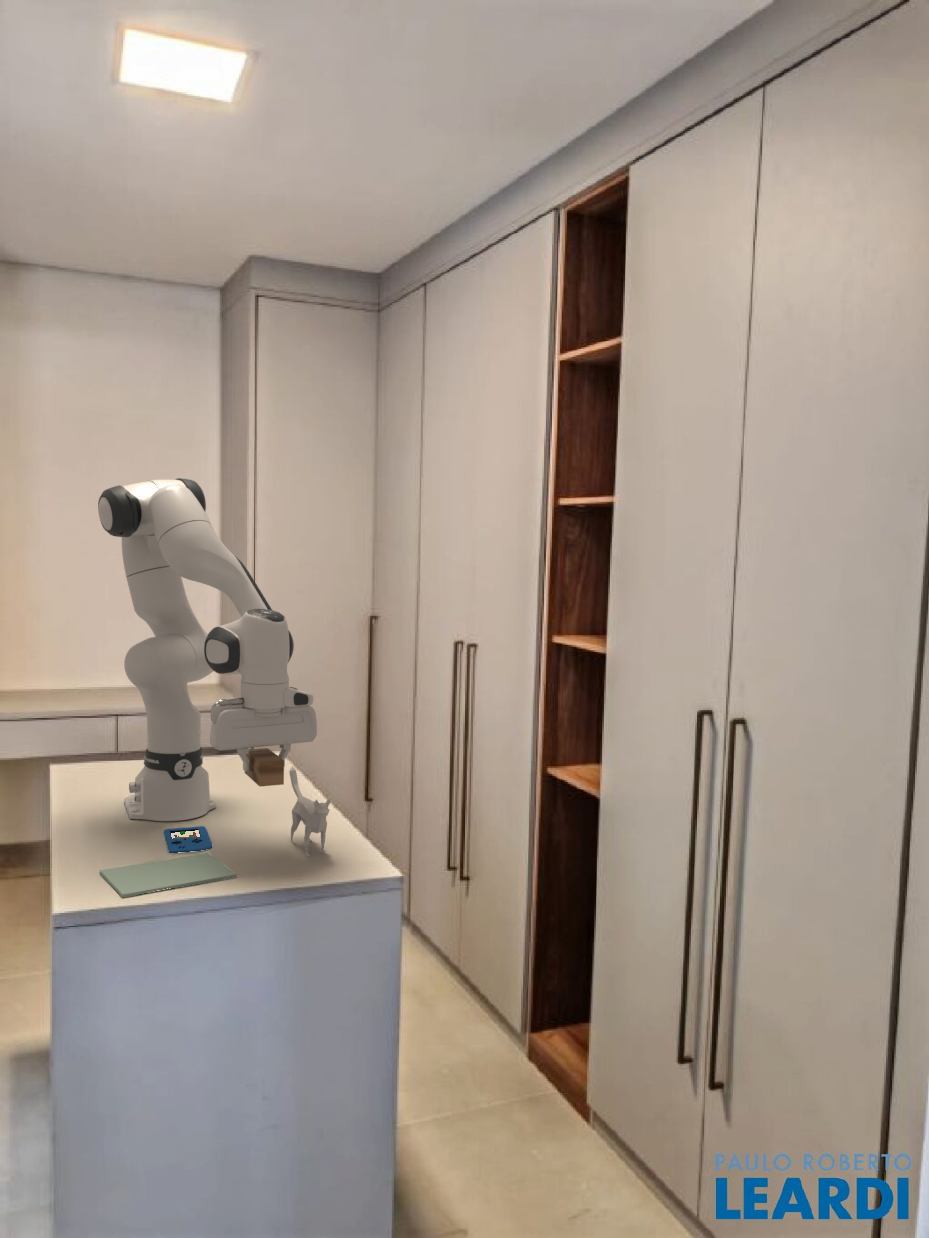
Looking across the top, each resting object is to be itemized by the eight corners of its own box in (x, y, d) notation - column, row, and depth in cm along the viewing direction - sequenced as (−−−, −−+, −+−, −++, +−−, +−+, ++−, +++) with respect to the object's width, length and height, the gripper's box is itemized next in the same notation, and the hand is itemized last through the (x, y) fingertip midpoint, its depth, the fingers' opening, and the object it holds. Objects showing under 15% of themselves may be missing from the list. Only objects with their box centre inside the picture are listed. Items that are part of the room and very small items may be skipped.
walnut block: (283, 784, 186) (284, 759, 186) (259, 786, 184) (260, 761, 184) (267, 771, 196) (267, 747, 196) (244, 772, 194) (244, 749, 194)
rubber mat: (99, 873, 180) (99, 870, 180) (207, 855, 192) (207, 852, 192) (122, 897, 169) (122, 894, 169) (236, 877, 180) (236, 874, 180)
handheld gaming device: (169, 850, 192) (163, 827, 206) (169, 855, 192) (163, 832, 206) (213, 846, 195) (205, 824, 209) (213, 851, 195) (205, 829, 209)
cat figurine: (313, 863, 189) (314, 789, 188) (280, 834, 207) (280, 766, 205) (335, 860, 191) (336, 787, 190) (300, 831, 209) (301, 764, 207)
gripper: (216, 702, 181) (216, 778, 182) (321, 695, 192) (319, 766, 193) (205, 697, 186) (204, 771, 187) (307, 690, 197) (306, 760, 198)
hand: (263, 769), depth 190 cm, fingers closed on walnut block, 5 cm apart
